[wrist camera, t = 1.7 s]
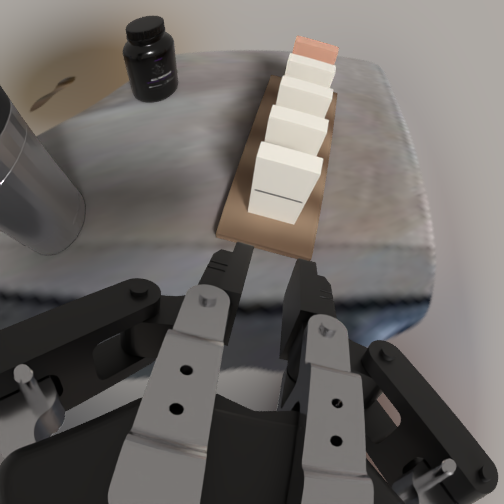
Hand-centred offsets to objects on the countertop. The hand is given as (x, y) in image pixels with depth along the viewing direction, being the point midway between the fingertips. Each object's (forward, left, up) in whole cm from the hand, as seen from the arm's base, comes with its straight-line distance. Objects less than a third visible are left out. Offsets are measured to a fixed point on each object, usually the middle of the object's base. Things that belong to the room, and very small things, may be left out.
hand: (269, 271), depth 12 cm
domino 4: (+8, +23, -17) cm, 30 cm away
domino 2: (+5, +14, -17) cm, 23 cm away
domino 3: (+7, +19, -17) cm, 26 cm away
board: (+7, +19, -18) cm, 27 cm away
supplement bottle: (-10, +32, -18) cm, 38 cm away
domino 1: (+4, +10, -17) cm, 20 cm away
